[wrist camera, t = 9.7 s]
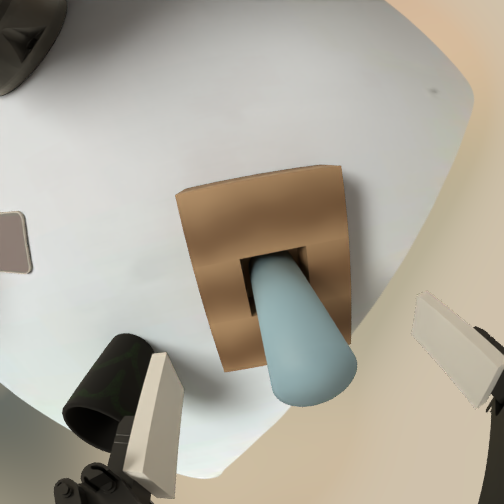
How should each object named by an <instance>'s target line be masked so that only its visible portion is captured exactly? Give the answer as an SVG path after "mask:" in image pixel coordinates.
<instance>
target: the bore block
mask: <svg viewBox="0 0 504 504" xmlns="http://www.w3.org/2000/svg"><path fill="white" fill-rule="evenodd" d="M175 197H176V201H177V206H178V210H179V214H180V218H181V223H182V227H183V231H184V235H185V239H186V243H187V247H188V251H189V255H190V259H191V262H192V266H193V270H194V274H195V277H196V281H197V284H198V288H199V292H200V295H201V299H202V302H203V305H204V309H205V312H206V316H207V319H208V322H209V325H210V329H211V332H212V335H213V338H214V341H215V345H216V348H217V351H218V354H219V357H220V360H221V363H222V366H223V369H224V372H230V371H237V370H242V369H248V368H254V367H259V366H264V365H267V361H266V356H265V351H264V346H263V341H262V336H261V331H260V326H259V320H258V315H257V310H256V305H255V300H254V295H253V290H252V285H251V280H250V274H249V261H250V259H251V257H253V256H258V255H263V254H268V253H273V252H278V251H283V250H287V251H288V252H289V253H290V255H291V256H292V258H293V259H294V261H295V262H296V264H297V265H298V267H299V268H300V270H301V271H302V273H303V274H304V276H305V277H306V279H307V281H308V282H309V284H310V285H311V287H312V288H313V290H314V291H315V293H316V295H317V296H318V298H319V299H320V301H321V302H322V304H323V305H324V307H325V309H326V310H327V312H328V313H329V315H330V317H331V318H332V320H333V321H334V323H335V325H336V326H337V328H338V329H339V331H340V333H341V334H342V336H343V337H344V339H345V341H346V342H347V344H348V345H349V344H351V272H350V251H349V236H348V223H347V212H346V202H345V193H344V184H343V176H342V169H341V166H335V165H314V166H306V167H299V168H292V169H286V170H280V171H273V172H267V173H261V174H256V175H250V176H245V177H239V178H234V179H229V180H224V181H219V182H214V183H209V184H205V185H200V186H196V187H191V188H187V189H184V190H183V191H181V192H180V193H178V194H176V195H175Z"/></svg>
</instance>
